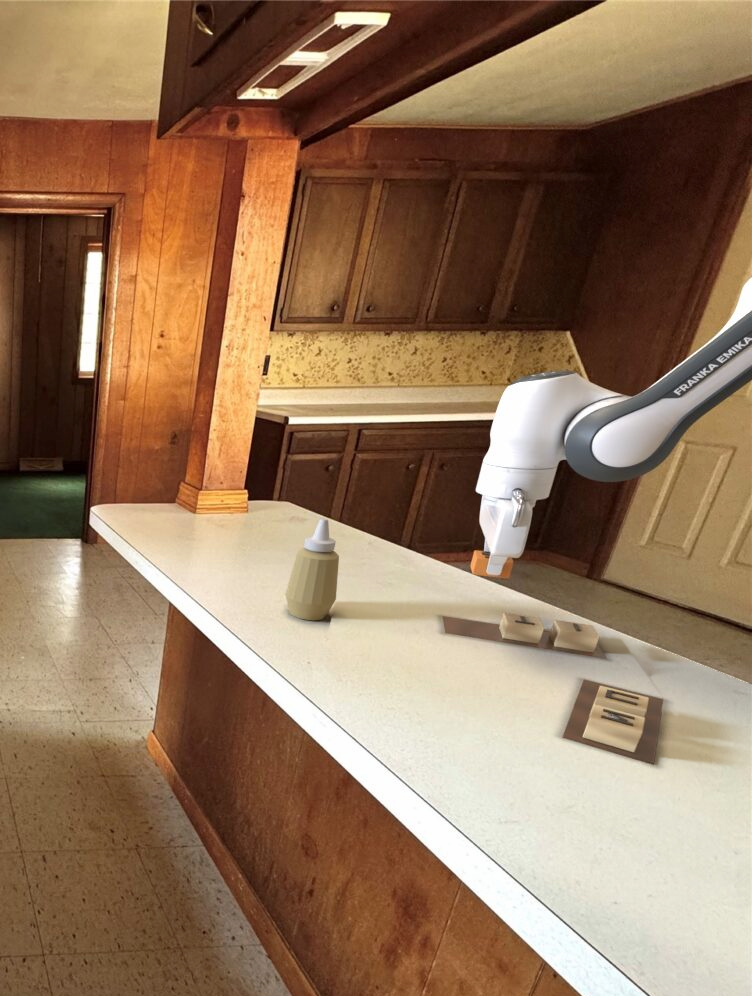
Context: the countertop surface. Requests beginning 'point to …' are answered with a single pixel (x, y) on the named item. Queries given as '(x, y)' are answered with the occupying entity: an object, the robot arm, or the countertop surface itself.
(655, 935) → the countertop surface
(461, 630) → the back rack
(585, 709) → the front rack
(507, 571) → the s tile
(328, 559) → the squeeze bottle
